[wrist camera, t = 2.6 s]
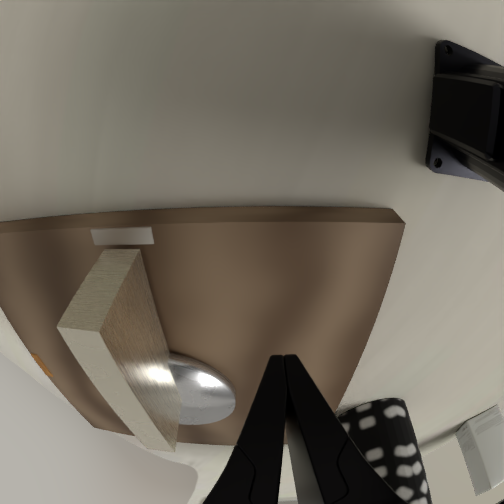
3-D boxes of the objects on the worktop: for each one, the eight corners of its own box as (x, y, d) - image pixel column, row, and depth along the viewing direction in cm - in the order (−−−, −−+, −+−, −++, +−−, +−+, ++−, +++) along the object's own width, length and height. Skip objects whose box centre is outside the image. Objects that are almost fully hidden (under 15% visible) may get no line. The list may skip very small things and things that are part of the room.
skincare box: (454, 432, 37) (472, 497, 24) (467, 419, 33) (489, 490, 20) (486, 417, 36) (506, 477, 23) (500, 402, 33) (524, 467, 19)
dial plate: (392, 208, 13) (406, 224, 12) (317, 429, 27) (319, 442, 25) (-21, 224, 13) (-34, 237, 12) (96, 416, 27) (93, 428, 25)
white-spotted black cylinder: (403, 388, 23) (445, 571, 6) (406, 414, 27) (438, 557, 10) (322, 417, 25) (341, 598, 8) (341, 437, 29) (359, 579, 12)
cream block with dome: (238, 418, 21) (237, 472, 17) (132, 410, 21) (122, 458, 17) (222, 247, 12) (211, 338, 8) (47, 250, 12) (-4, 316, 8)
